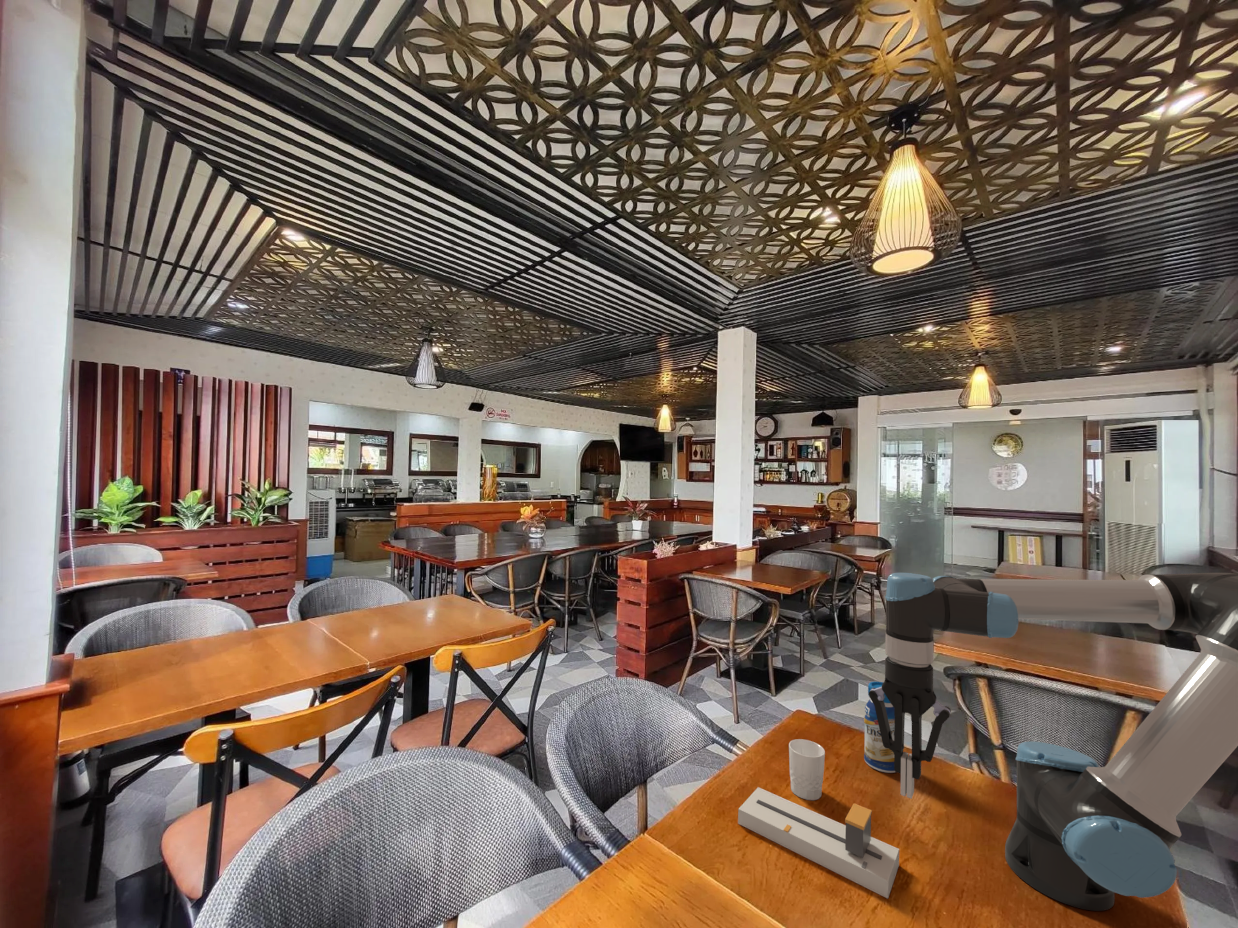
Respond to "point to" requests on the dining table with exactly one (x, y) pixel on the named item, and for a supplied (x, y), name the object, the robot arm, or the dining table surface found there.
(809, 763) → the white cup
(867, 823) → the fader knob
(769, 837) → the dimmer console
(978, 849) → the dining table surface
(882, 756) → the beverage bottle
